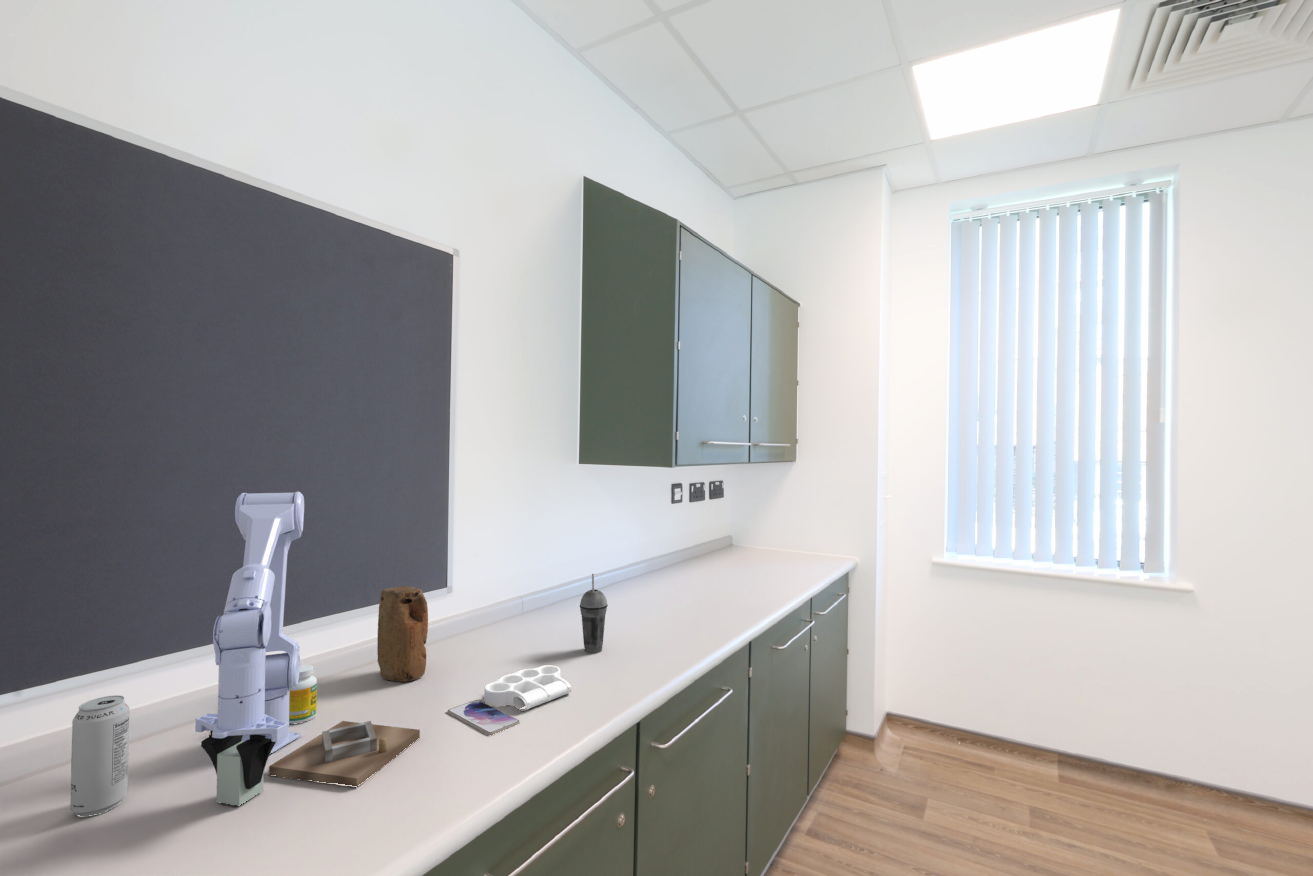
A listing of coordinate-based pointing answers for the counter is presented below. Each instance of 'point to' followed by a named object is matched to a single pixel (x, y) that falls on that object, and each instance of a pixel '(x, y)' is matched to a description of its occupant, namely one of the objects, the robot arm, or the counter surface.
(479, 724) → the smartphone
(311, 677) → the supplement bottle
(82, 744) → the energy drink can
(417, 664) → the block
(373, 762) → the socket plate
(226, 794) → the sage block
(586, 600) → the beverage cup
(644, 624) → the counter surface
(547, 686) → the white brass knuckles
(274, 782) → the counter surface
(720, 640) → the counter surface
